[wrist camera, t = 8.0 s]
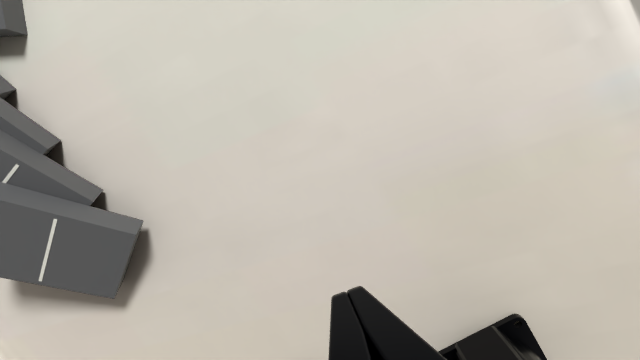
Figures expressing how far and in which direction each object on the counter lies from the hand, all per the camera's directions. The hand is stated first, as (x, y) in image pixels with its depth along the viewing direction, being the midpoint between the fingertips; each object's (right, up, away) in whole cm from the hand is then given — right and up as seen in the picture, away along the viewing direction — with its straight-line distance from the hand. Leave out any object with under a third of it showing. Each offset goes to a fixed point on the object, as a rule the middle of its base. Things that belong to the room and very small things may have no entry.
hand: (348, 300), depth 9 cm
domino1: (-13, -2, +12) cm, 18 cm away
